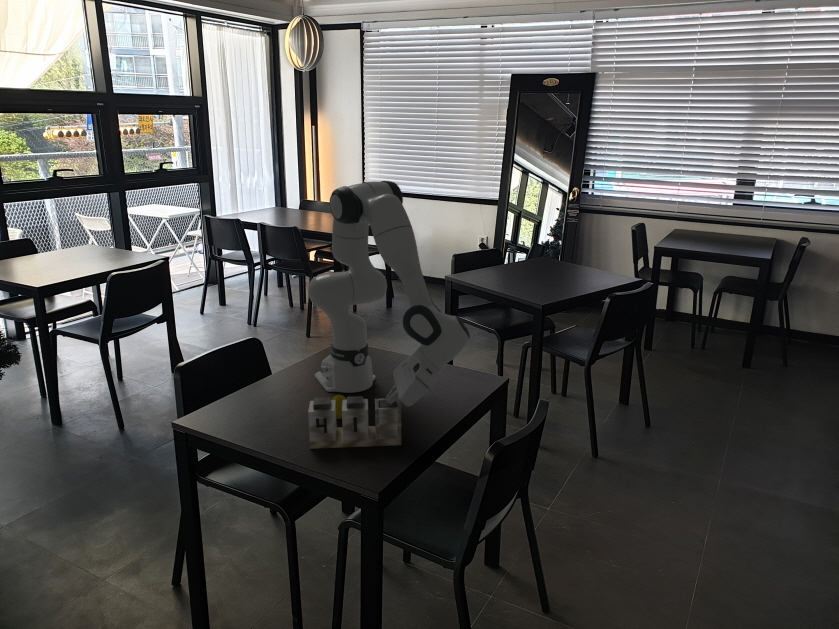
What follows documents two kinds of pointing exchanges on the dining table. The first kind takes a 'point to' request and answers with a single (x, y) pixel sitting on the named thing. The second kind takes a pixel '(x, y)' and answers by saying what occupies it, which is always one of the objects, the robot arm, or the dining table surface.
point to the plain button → (386, 404)
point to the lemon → (339, 405)
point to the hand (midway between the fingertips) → (387, 401)
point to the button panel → (353, 424)
